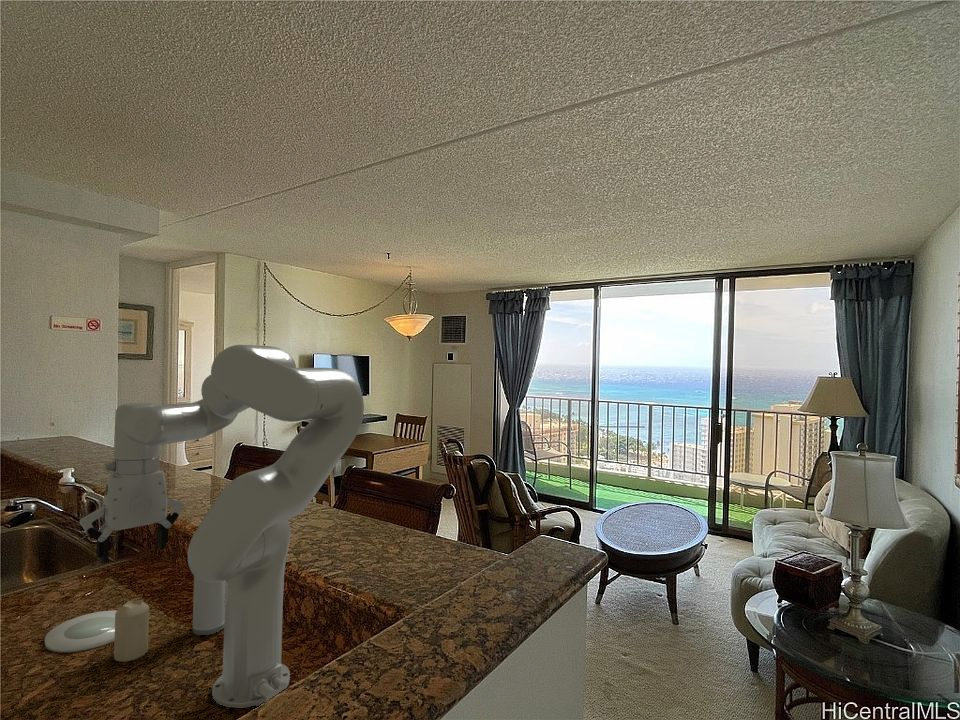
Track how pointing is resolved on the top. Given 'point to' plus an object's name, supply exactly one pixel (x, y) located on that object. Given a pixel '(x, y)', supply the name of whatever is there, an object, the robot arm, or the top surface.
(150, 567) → the top surface
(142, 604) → the candle
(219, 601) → the travel mug
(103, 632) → the ceramic plate
